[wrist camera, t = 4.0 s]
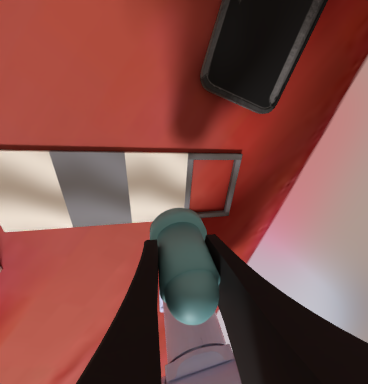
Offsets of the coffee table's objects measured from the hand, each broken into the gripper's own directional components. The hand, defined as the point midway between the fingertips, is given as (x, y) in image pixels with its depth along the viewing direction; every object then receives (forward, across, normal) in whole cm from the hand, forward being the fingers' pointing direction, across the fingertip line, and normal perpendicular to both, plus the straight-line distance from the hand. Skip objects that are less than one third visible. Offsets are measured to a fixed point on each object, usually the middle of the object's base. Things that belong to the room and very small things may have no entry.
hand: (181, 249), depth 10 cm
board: (+9, +4, 0) cm, 10 cm away
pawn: (+2, 0, 0) cm, 2 cm away
